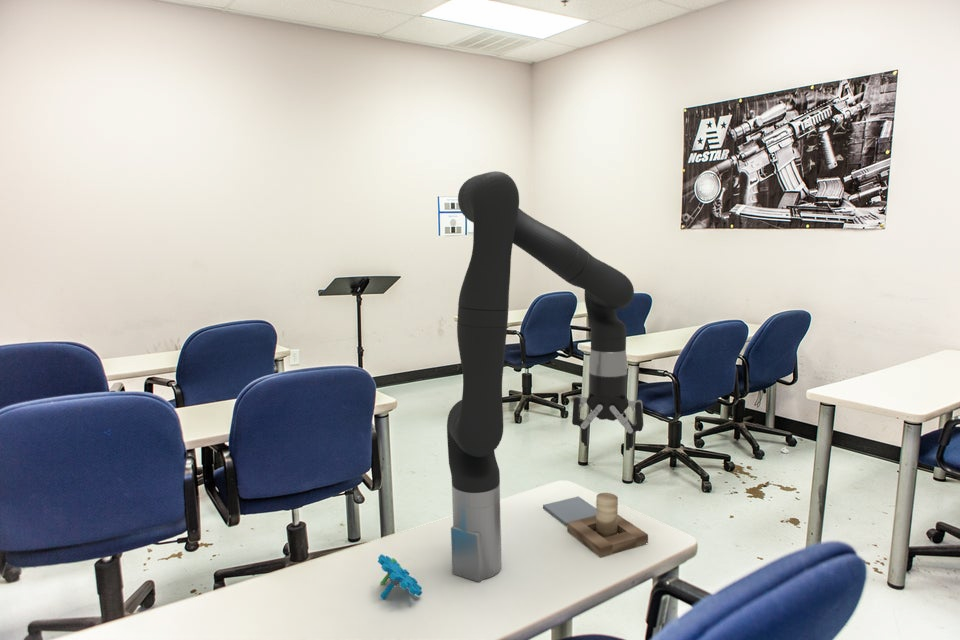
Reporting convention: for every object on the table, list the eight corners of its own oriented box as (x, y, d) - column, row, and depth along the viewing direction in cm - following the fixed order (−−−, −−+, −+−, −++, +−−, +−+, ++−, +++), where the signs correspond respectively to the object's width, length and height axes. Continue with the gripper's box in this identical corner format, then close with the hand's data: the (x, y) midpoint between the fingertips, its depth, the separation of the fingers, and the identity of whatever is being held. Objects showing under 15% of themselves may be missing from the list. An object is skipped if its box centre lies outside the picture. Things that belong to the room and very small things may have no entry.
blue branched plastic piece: (429, 597, 105) (386, 564, 103) (407, 626, 104) (363, 593, 102) (418, 572, 116) (378, 542, 113) (398, 598, 114) (358, 568, 112)
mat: (603, 516, 137) (603, 513, 136) (566, 526, 132) (566, 522, 132) (578, 499, 146) (578, 496, 146) (542, 508, 142) (542, 504, 141)
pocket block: (647, 543, 124) (648, 534, 124) (600, 557, 119) (600, 548, 119) (612, 519, 135) (612, 510, 135) (567, 531, 130) (567, 522, 130)
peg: (613, 544, 124) (613, 503, 123) (593, 539, 127) (593, 499, 125) (620, 535, 128) (620, 495, 127) (600, 530, 130) (600, 491, 129)
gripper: (569, 372, 121) (569, 449, 124) (642, 377, 116) (640, 457, 119) (576, 365, 128) (576, 437, 130) (645, 369, 123) (644, 444, 126)
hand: (607, 447), depth 125 cm, fingers open, 8 cm apart
